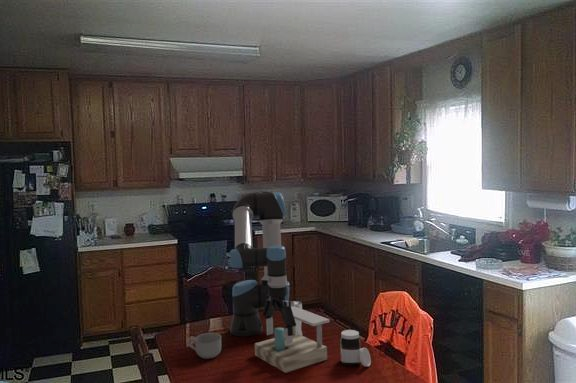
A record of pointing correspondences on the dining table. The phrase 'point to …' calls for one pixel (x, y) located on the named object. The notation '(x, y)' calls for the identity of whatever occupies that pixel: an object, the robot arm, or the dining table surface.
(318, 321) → the grey piece
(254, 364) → the dining table surface
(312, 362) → the socket block
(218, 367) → the dining table surface
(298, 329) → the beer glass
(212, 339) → the teacup
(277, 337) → the peg
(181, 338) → the dining table surface
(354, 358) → the spread jar
